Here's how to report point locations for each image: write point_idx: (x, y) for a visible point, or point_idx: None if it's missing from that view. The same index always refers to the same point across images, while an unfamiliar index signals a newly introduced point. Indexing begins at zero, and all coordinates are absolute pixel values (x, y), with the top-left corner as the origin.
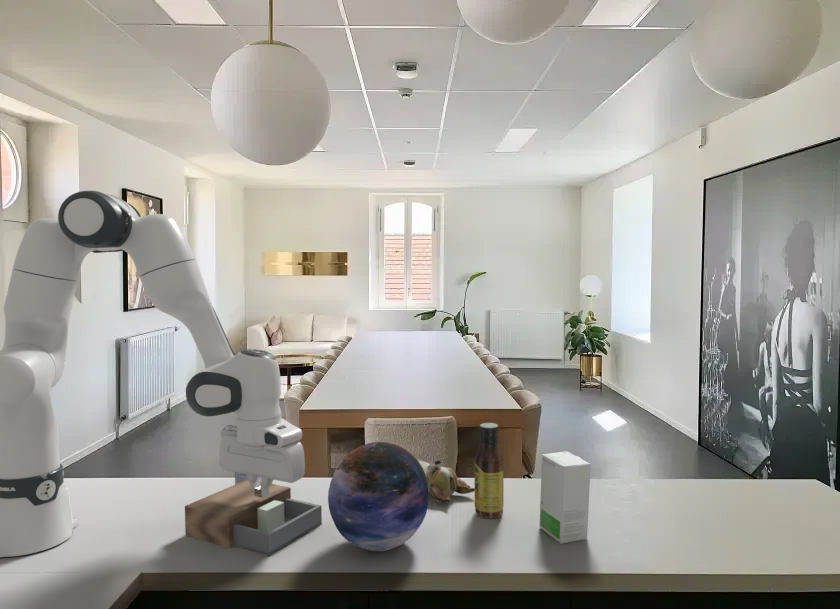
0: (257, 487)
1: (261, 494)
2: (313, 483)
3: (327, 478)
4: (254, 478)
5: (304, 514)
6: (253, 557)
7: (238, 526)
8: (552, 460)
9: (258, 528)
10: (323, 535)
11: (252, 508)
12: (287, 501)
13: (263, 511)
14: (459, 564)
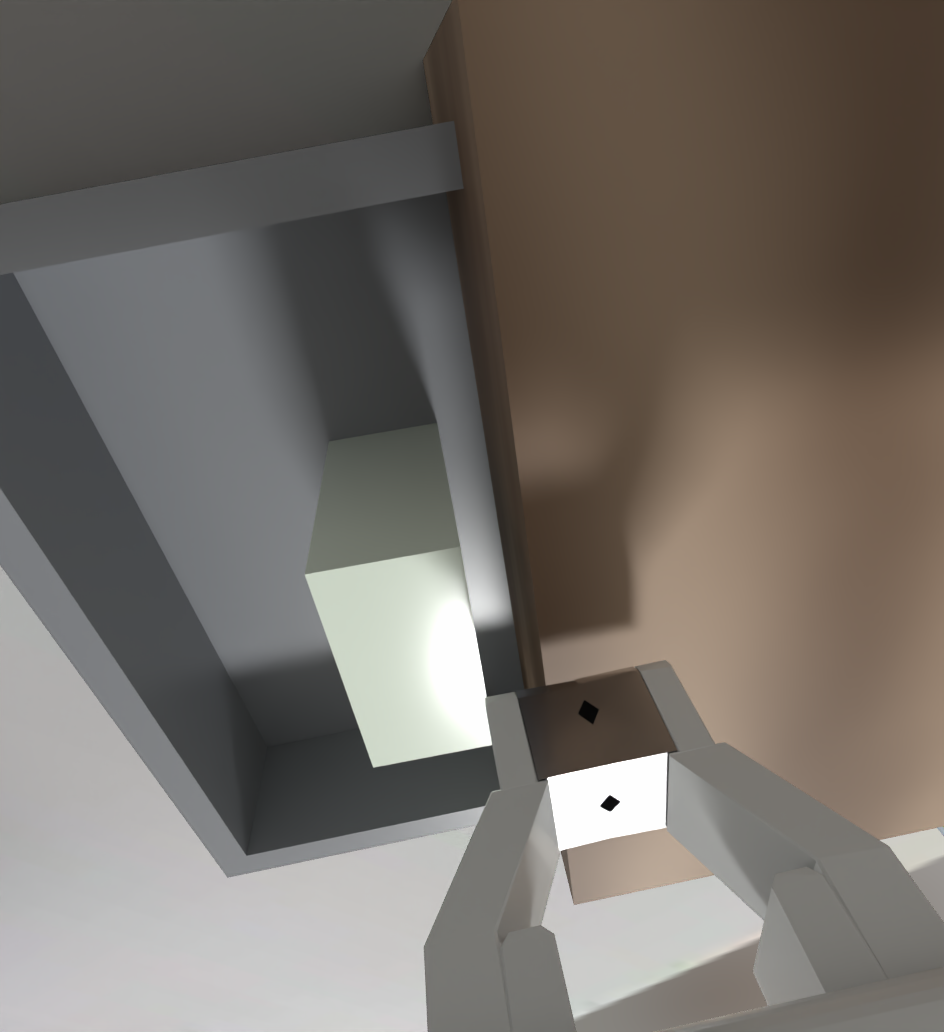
0: (661, 784)
1: (524, 721)
2: (717, 917)
3: (696, 961)
4: (770, 916)
5: (147, 754)
6: (23, 73)
7: (363, 150)
8: None
9: (432, 440)
10: (85, 687)
11: (521, 515)
12: None
13: (362, 552)
14: None
